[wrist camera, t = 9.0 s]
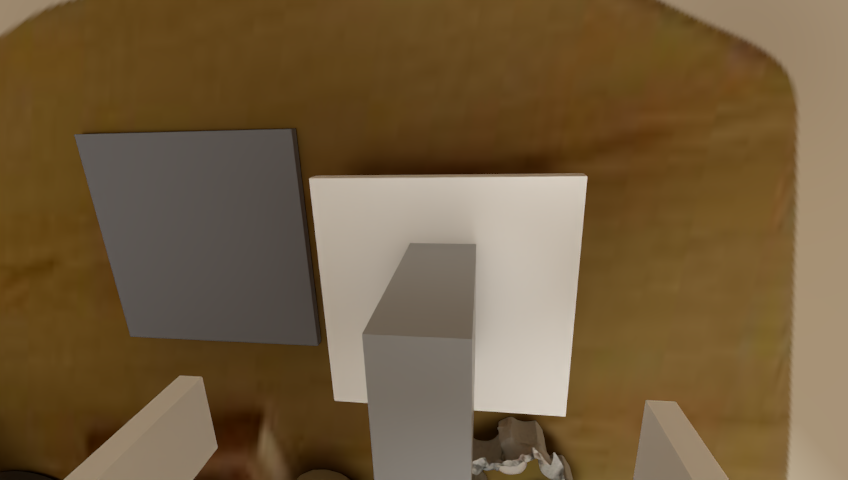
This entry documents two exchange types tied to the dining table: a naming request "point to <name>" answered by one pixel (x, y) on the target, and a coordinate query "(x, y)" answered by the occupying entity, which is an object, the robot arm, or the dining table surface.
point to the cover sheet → (506, 271)
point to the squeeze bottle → (322, 475)
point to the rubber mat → (206, 233)
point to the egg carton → (517, 452)
